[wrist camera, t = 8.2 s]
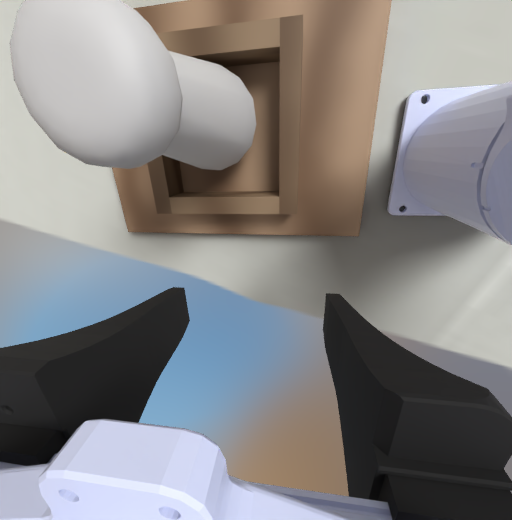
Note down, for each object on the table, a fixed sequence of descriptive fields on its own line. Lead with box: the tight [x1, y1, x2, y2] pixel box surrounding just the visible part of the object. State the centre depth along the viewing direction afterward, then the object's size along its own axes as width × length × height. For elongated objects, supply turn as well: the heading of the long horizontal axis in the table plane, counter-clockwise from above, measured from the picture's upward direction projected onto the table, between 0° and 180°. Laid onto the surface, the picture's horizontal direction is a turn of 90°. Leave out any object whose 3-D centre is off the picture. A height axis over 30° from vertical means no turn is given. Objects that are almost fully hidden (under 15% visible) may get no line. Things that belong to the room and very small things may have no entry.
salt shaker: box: [10, 0, 256, 170], centre depth 12 cm, size 6×6×13 cm
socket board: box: [112, 0, 392, 236], centre depth 17 cm, size 20×15×4 cm
